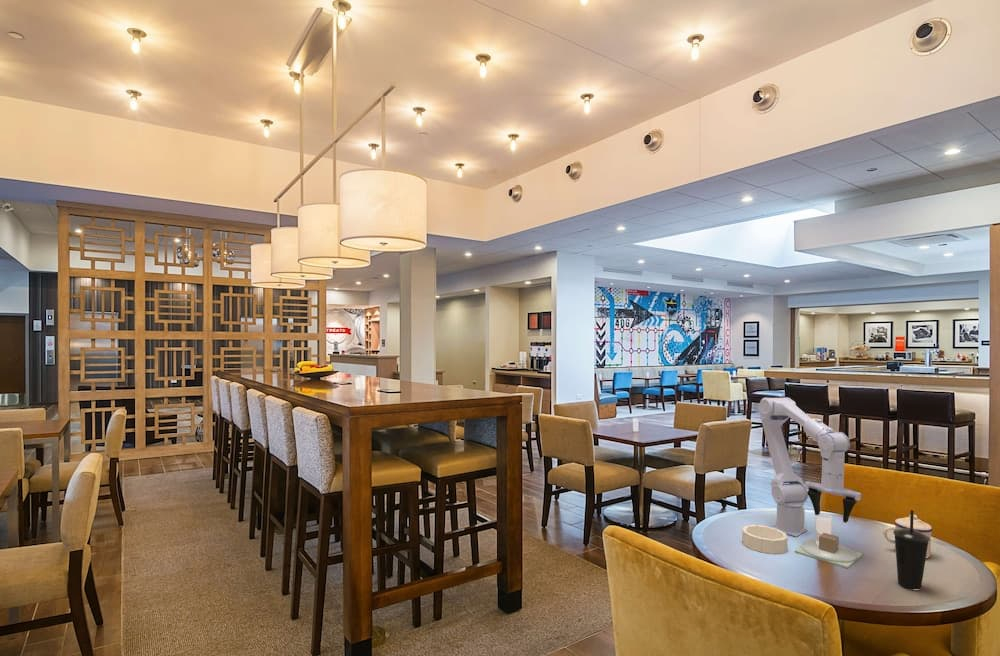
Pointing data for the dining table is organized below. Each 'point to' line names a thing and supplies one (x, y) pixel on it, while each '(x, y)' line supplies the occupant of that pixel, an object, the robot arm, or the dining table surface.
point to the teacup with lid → (917, 525)
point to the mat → (845, 565)
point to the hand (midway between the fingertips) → (831, 517)
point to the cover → (829, 549)
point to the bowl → (764, 539)
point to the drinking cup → (910, 555)
